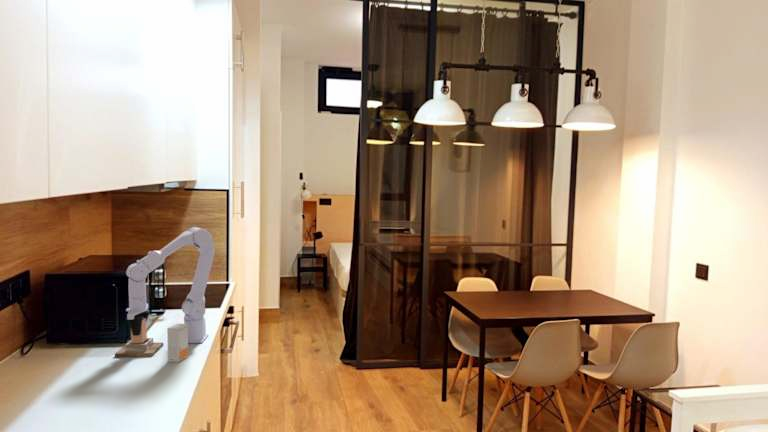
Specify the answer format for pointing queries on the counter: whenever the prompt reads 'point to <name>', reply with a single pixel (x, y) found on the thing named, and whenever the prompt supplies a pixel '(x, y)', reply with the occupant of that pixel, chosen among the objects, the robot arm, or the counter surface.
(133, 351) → the socket board
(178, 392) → the counter surface
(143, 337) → the peg
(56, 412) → the counter surface
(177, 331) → the skincare box
